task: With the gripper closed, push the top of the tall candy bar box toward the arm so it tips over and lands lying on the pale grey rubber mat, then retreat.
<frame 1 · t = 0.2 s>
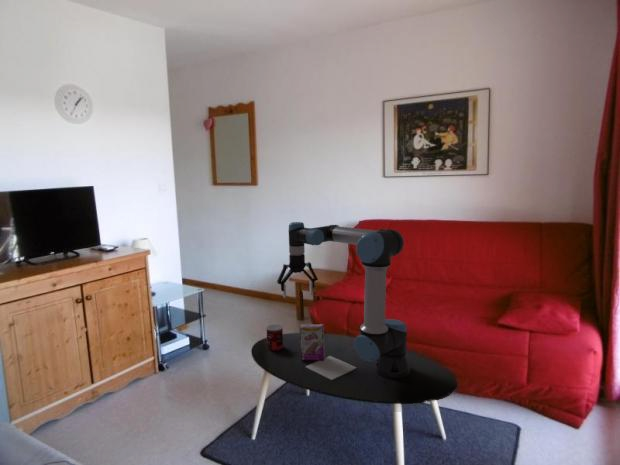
hand: (297, 295, 217), 27 cm above the table, fingers open, 13 cm apart
canned food: (275, 348, 222), on the table
mat: (330, 367, 199), on the table
candy bar box: (313, 359, 208), on the table, touching mat
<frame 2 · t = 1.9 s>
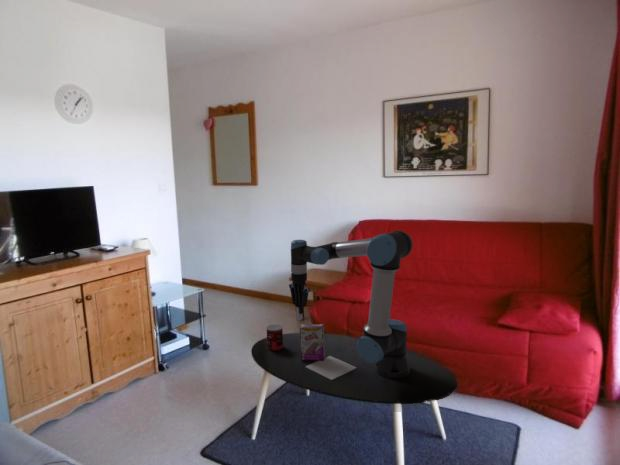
hand: (299, 319, 212), 17 cm above the table, fingers closed
nothing on the table moved.
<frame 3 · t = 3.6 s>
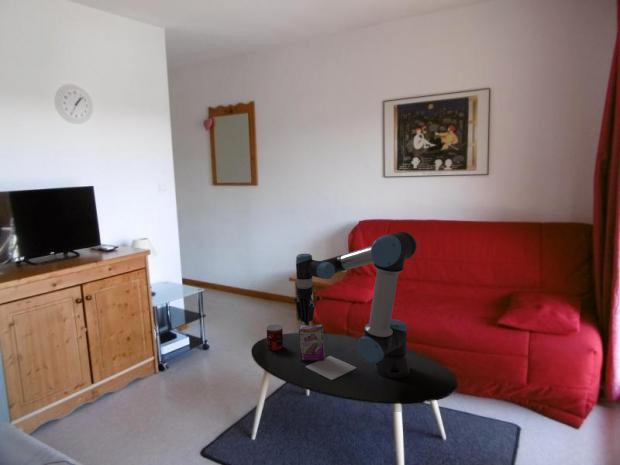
hand: (305, 333, 210), 11 cm above the table, fingers closed
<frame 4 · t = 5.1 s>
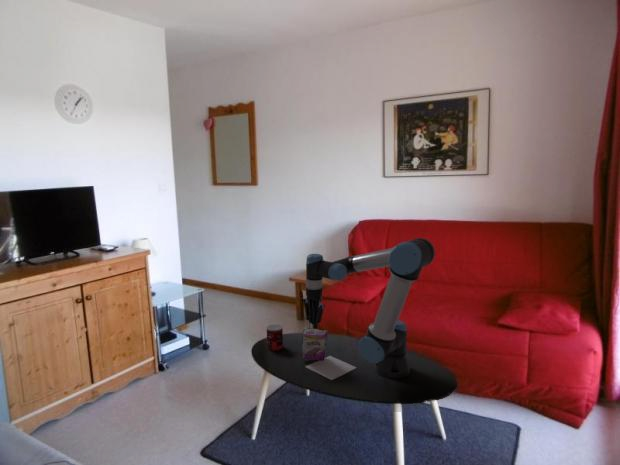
hand: (313, 335, 205), 12 cm above the table, fingers closed
candy bar box: (313, 356, 208), point 2 cm above the table, touching gripper, mat
everything else where it was.
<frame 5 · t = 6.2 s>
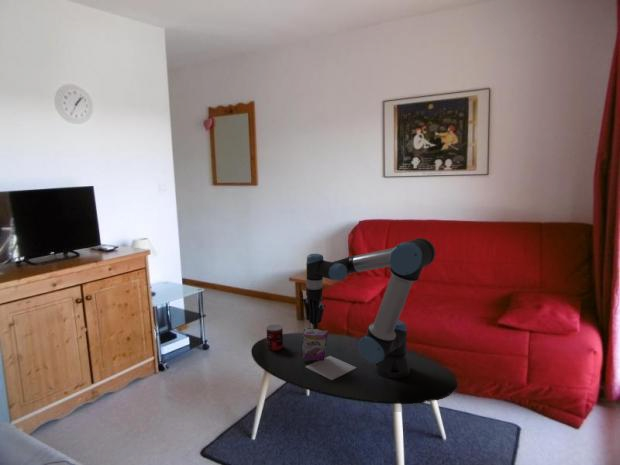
hand: (313, 335, 205), 12 cm above the table, fingers closed
nothing on the table moved.
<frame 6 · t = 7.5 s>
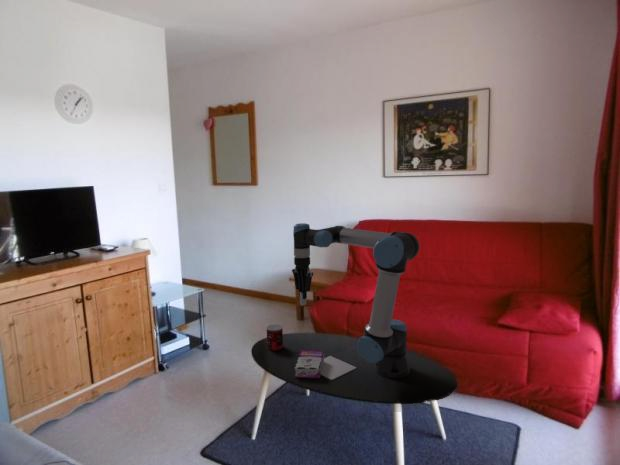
hand: (303, 304, 209), 26 cm above the table, fingers closed
candy bar box: (312, 355, 205), point 3 cm above the table, touching mat
everything else where it was.
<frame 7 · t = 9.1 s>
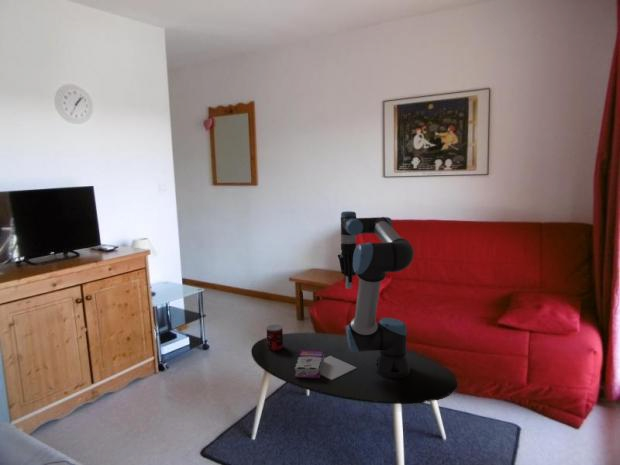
hand: (348, 288, 221), 29 cm above the table, fingers closed
candy bar box: (312, 355, 205), point 3 cm above the table, touching mat
everything else where it was.
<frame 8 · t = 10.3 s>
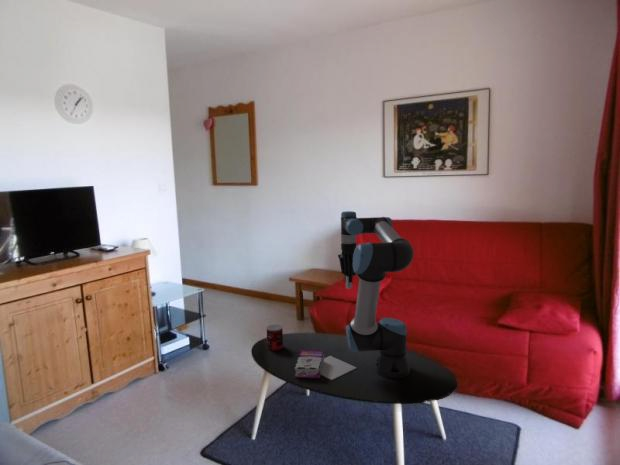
hand: (348, 288, 221), 29 cm above the table, fingers closed
nothing on the table moved.
at the end: candy bar box tilted 92°; candy bar box inside the target area (9.6 cm from its centre), point 3.2 cm above the table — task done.
